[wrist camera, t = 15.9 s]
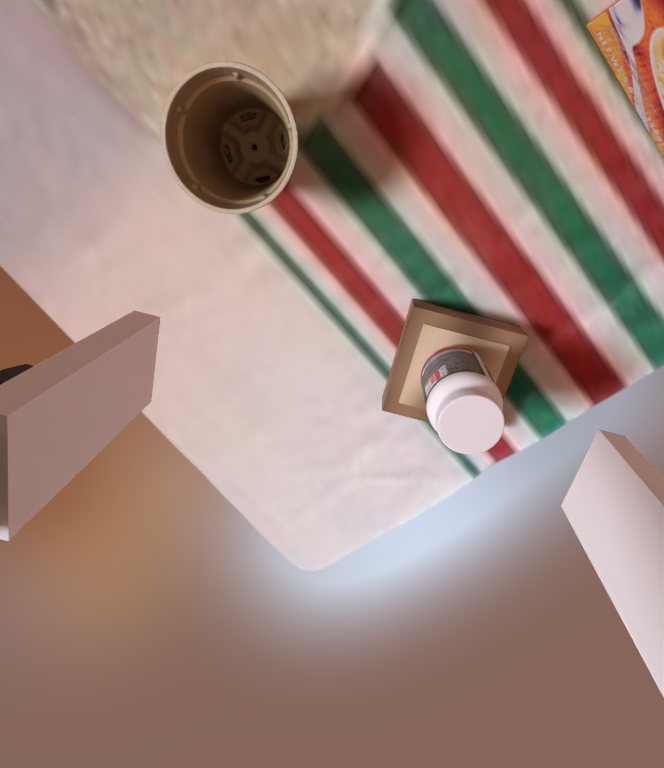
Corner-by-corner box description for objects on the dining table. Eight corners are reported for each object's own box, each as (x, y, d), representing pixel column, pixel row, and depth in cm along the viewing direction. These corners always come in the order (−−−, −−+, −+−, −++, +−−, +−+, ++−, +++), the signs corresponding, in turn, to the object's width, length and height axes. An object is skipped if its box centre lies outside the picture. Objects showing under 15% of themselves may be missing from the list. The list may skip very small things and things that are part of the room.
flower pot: (266, 54, 41) (237, 25, 33) (335, 161, 43) (325, 158, 35) (178, 132, 43) (132, 123, 35) (248, 229, 46) (220, 240, 38)
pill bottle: (407, 383, 46) (413, 435, 37) (444, 331, 44) (461, 372, 35) (460, 415, 47) (478, 473, 38) (499, 365, 45) (529, 415, 36)
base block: (382, 397, 51) (382, 411, 48) (412, 298, 47) (414, 307, 44) (482, 422, 51) (488, 438, 48) (519, 326, 47) (529, 336, 44)
